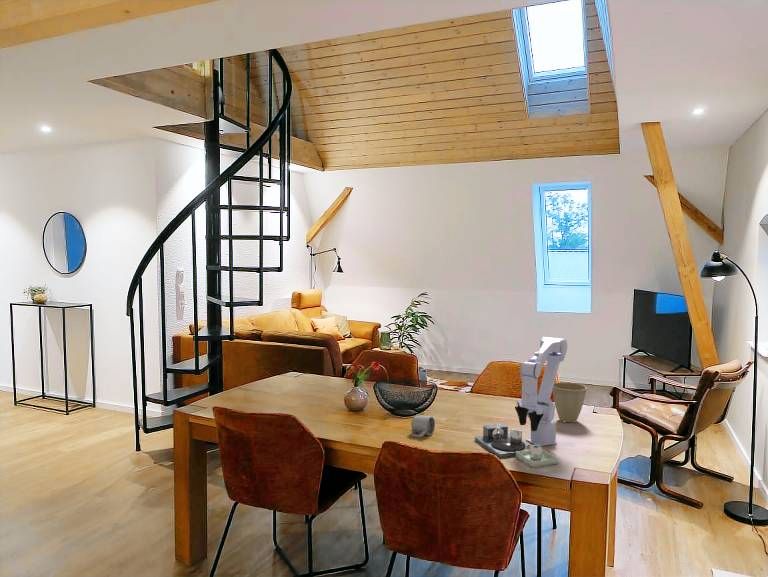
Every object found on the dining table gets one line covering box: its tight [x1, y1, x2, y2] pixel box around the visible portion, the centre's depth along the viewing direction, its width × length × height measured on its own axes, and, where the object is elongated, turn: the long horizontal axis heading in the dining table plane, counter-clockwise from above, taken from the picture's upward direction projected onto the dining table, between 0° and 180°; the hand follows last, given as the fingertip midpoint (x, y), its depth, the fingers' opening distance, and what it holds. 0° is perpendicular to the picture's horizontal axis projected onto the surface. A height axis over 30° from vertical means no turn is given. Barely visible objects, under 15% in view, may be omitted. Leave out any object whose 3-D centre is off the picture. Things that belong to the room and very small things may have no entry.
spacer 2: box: [530, 444, 543, 461], centre depth 212 cm, size 4×4×5 cm
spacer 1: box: [510, 428, 523, 444], centre depth 224 cm, size 4×4×5 cm
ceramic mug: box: [410, 414, 436, 439], centre depth 240 cm, size 11×8×8 cm
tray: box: [515, 448, 559, 468], centre depth 212 cm, size 11×11×2 cm
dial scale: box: [474, 423, 531, 459], centre depth 226 cm, size 16×20×6 cm
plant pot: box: [552, 381, 587, 423], centre depth 259 cm, size 15×15×16 cm
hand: (528, 427), depth 220 cm, fingers open, 7 cm apart
